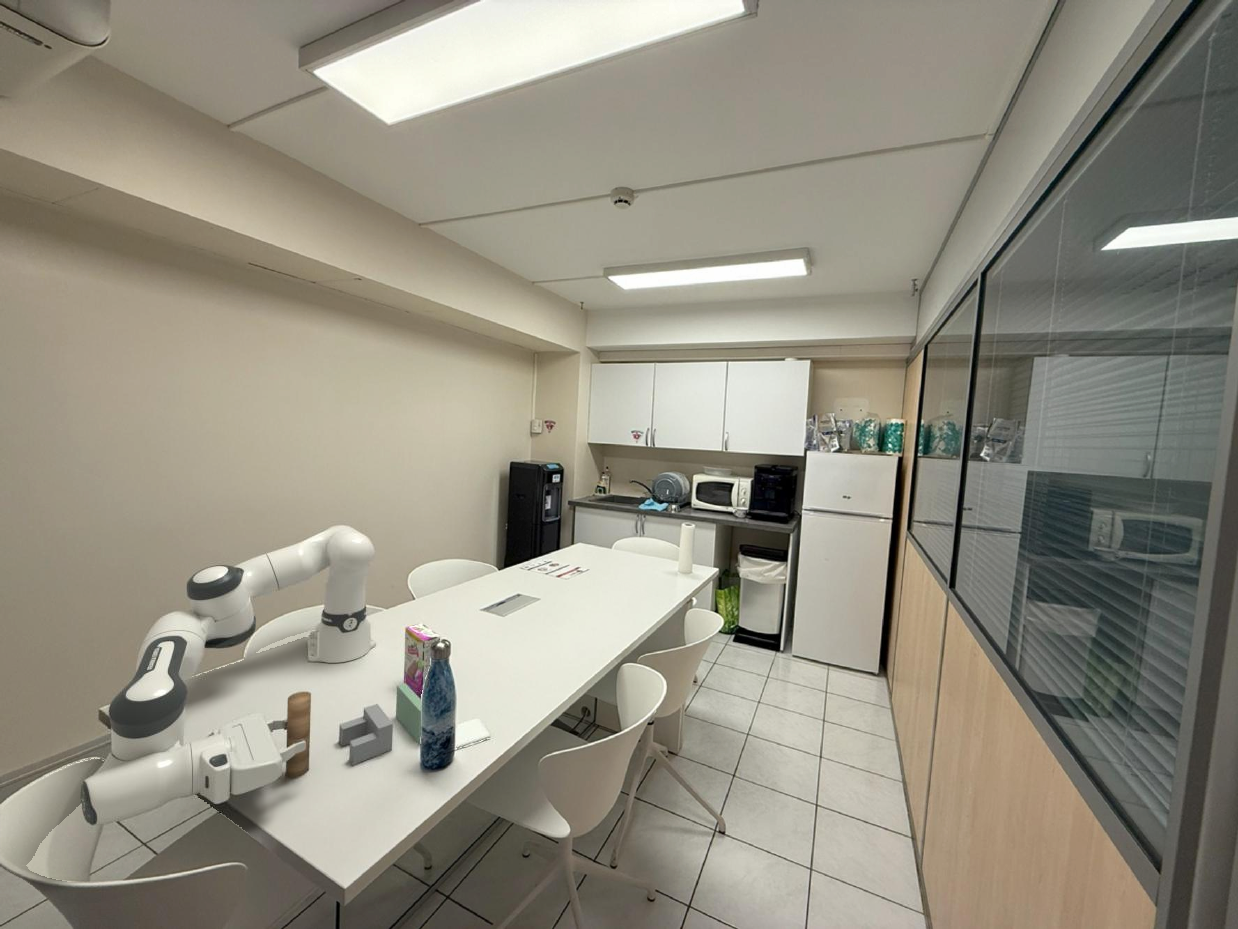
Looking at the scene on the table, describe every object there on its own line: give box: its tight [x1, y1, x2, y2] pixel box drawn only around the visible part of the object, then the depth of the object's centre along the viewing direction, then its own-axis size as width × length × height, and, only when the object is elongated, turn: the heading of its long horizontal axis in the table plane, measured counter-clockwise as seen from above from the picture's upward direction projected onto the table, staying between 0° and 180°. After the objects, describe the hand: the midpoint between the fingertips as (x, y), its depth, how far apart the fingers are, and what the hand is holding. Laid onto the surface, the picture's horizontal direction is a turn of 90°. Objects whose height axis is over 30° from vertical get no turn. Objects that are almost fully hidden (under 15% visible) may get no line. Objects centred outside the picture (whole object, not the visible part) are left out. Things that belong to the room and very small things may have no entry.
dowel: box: [285, 691, 312, 779], centre depth 100 cm, size 4×4×16 cm
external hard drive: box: [456, 717, 491, 750], centre depth 114 cm, size 2×8×12 cm
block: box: [338, 703, 394, 765], centre depth 109 cm, size 10×8×6 cm
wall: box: [395, 682, 423, 746], centre depth 116 cm, size 14×2×8 cm, turn 45°
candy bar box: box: [403, 622, 441, 699], centre depth 134 cm, size 11×5×16 cm, turn 48°
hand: (299, 732), depth 99 cm, fingers open, 8 cm apart
